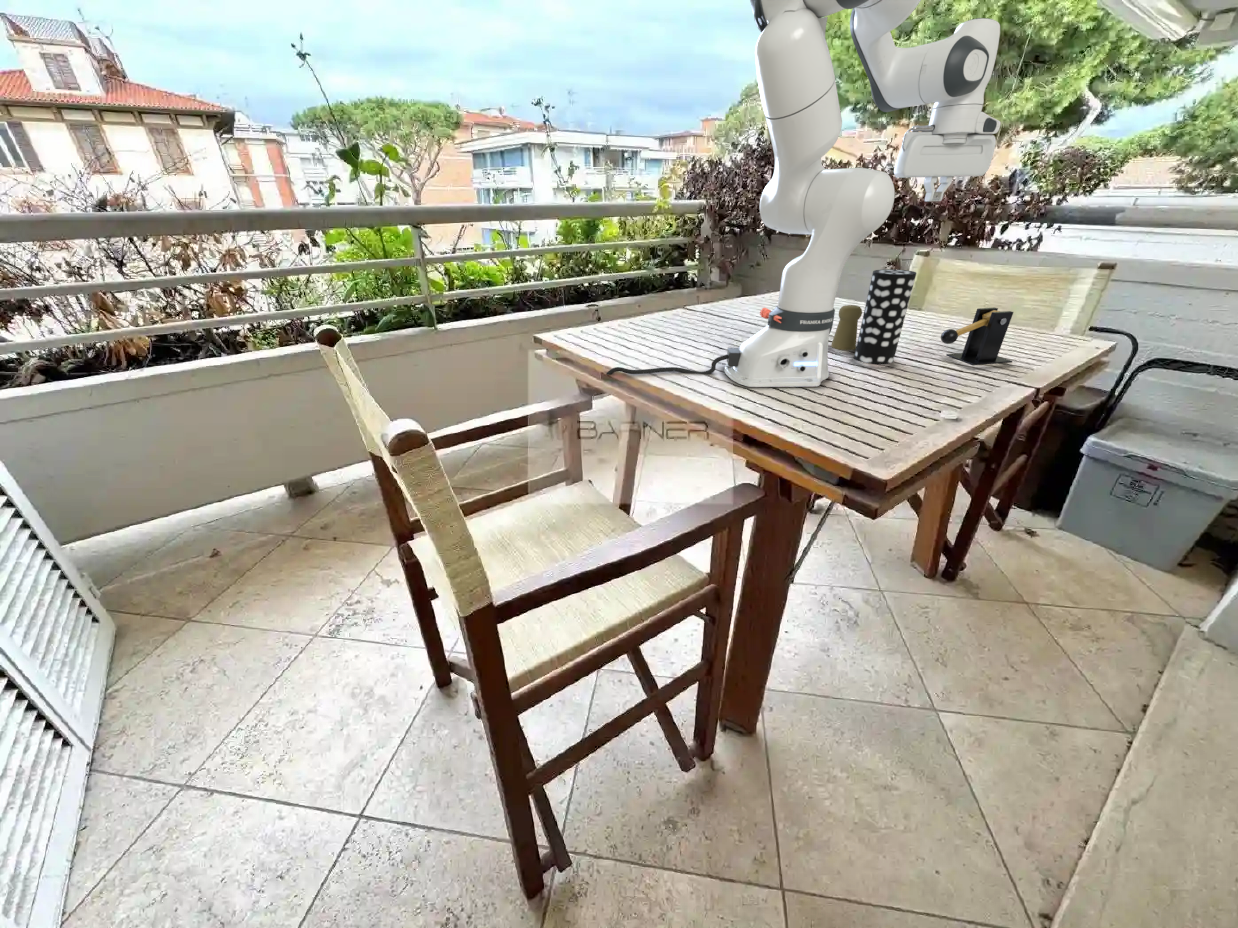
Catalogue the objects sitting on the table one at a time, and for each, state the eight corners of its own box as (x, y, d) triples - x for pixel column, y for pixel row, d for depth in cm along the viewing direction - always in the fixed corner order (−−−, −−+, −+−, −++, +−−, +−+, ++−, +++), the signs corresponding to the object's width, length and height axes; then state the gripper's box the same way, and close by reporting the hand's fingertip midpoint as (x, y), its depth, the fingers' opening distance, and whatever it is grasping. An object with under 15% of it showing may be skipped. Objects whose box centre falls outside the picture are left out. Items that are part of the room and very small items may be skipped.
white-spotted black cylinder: (884, 357, 116) (906, 269, 107) (898, 368, 109) (923, 274, 99) (848, 357, 117) (867, 269, 108) (860, 368, 110) (881, 275, 100)
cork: (860, 352, 120) (870, 307, 115) (838, 354, 120) (847, 308, 114) (846, 346, 126) (855, 302, 120) (825, 348, 125) (833, 304, 119)
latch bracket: (971, 369, 108) (989, 315, 102) (944, 359, 115) (960, 307, 109) (1010, 366, 109) (1031, 312, 103) (982, 356, 116) (1000, 305, 110)
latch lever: (947, 347, 107) (947, 334, 105) (937, 344, 110) (937, 331, 108) (1004, 324, 106) (1004, 310, 105) (992, 321, 109) (992, 307, 107)
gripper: (917, 123, 96) (899, 202, 102) (1008, 123, 98) (985, 200, 105) (896, 127, 101) (880, 202, 108) (983, 127, 104) (962, 200, 110)
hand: (932, 201), depth 106 cm, fingers closed
